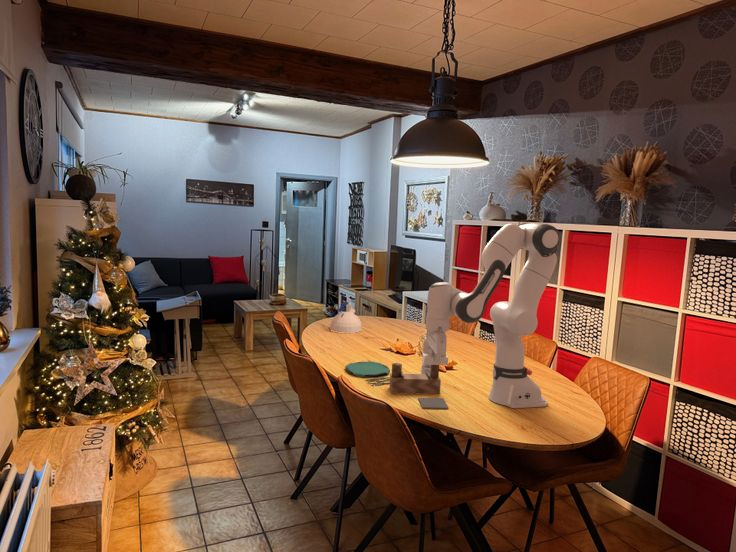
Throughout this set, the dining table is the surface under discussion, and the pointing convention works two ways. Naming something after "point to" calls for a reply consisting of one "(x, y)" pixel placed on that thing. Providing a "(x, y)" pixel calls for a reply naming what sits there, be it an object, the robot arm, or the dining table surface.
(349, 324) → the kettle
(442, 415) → the dining table surface
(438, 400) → the rubber mat
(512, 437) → the dining table surface
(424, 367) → the plastic bottle
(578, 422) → the dining table surface
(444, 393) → the dining table surface
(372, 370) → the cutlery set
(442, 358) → the lever cap
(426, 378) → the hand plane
